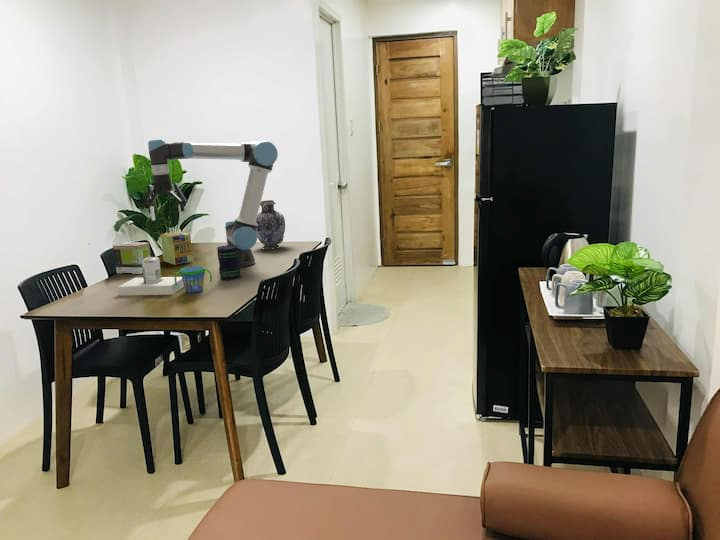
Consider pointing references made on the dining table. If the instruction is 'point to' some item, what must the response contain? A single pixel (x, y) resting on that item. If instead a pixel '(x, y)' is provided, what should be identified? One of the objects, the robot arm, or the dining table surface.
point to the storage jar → (229, 262)
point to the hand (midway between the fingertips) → (167, 219)
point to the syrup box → (151, 270)
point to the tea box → (130, 257)
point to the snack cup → (193, 278)
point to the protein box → (177, 247)
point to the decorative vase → (270, 225)
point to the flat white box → (151, 287)
